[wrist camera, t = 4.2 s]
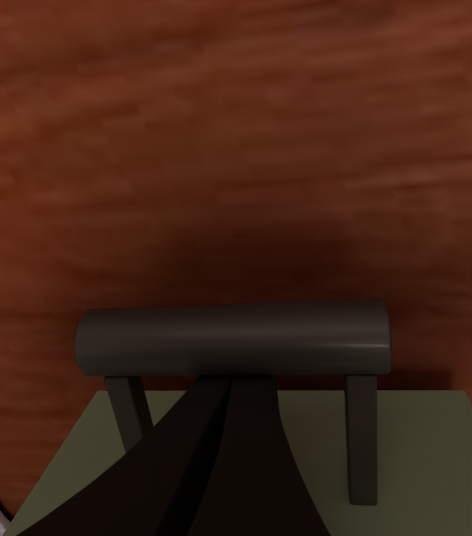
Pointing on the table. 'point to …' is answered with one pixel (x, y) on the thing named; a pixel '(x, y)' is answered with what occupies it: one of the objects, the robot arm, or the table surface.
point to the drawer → (280, 409)
